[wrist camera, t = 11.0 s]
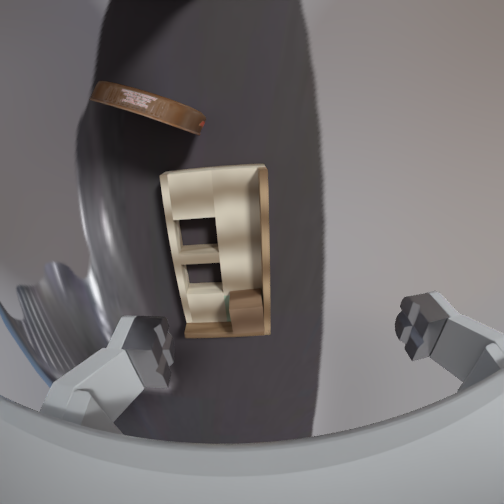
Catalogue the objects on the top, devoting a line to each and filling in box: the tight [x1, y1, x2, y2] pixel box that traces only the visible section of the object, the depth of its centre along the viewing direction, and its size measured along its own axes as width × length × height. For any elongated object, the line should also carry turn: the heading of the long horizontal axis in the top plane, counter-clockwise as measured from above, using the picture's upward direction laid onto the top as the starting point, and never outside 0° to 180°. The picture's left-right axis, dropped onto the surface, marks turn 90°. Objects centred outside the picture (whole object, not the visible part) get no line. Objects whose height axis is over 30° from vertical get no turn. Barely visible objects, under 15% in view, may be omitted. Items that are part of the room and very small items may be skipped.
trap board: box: [160, 164, 270, 338], centre depth 37 cm, size 24×13×6 cm, turn 3°
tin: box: [89, 81, 206, 135], centre depth 26 cm, size 15×3×8 cm, turn 65°
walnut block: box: [229, 288, 265, 334], centre depth 38 cm, size 4×4×4 cm
